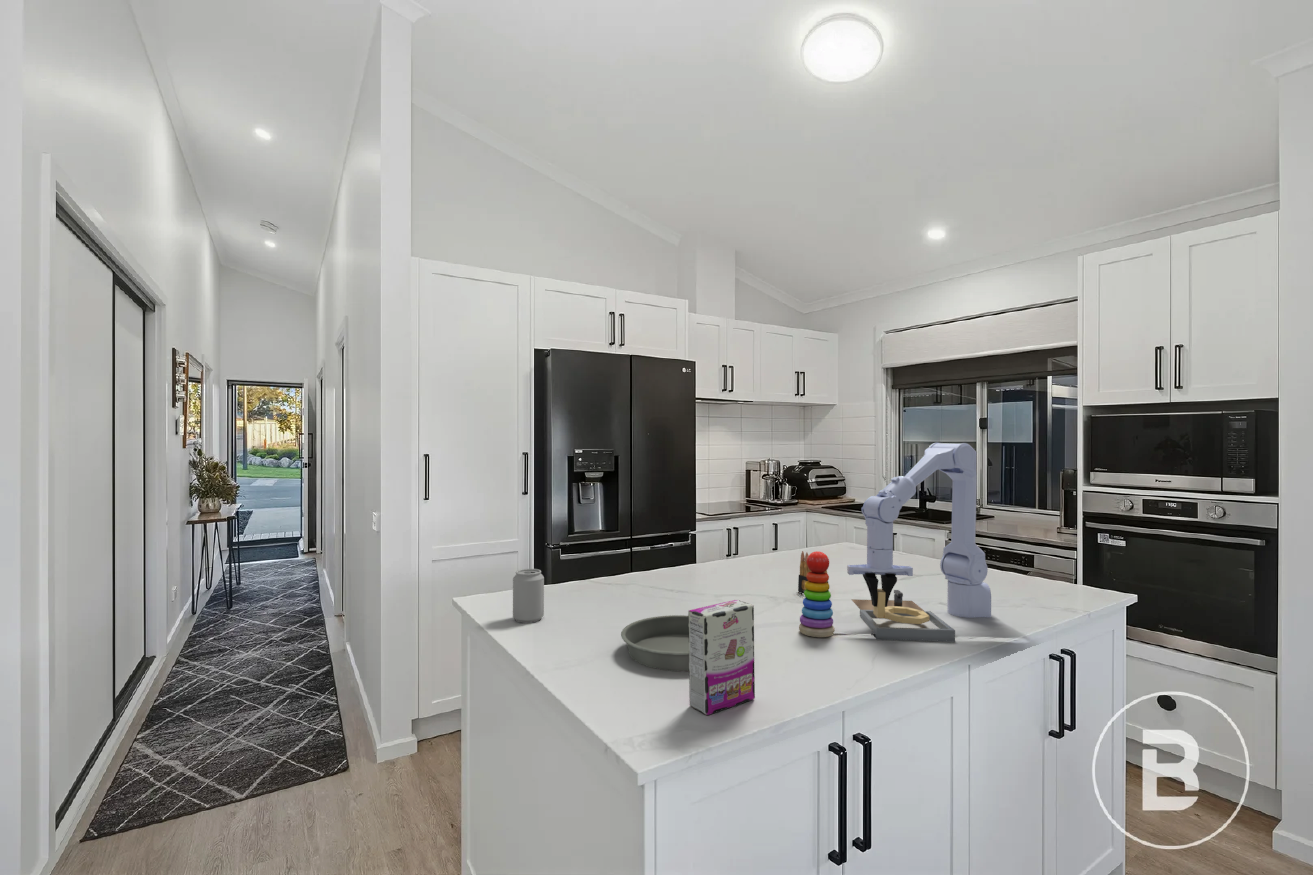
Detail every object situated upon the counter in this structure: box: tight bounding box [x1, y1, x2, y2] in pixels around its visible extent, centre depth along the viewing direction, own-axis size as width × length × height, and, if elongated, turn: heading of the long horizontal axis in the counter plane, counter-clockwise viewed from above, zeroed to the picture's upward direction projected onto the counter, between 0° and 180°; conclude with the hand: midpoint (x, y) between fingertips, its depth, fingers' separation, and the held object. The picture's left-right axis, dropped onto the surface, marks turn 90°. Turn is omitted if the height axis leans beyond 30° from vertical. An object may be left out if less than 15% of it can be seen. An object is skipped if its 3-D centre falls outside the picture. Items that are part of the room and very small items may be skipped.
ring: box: [873, 588, 930, 625], centre depth 147 cm, size 12×10×6 cm
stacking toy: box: [798, 551, 836, 638], centre depth 144 cm, size 8×8×19 cm
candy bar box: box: [687, 599, 756, 716], centre depth 107 cm, size 11×5×16 cm, turn 126°
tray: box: [859, 609, 956, 643], centre depth 147 cm, size 17×15×2 cm
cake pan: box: [620, 614, 689, 672], centre depth 132 cm, size 25×25×4 cm
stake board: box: [851, 599, 925, 611], centre depth 163 cm, size 16×14×1 cm
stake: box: [893, 589, 904, 607], centre depth 162 cm, size 2×4×4 cm, turn 176°
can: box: [512, 568, 545, 624], centre depth 155 cm, size 8×8×12 cm
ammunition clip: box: [797, 550, 830, 594], centre depth 178 cm, size 11×2×12 cm, turn 28°
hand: (879, 605), depth 147 cm, fingers closed on ring
